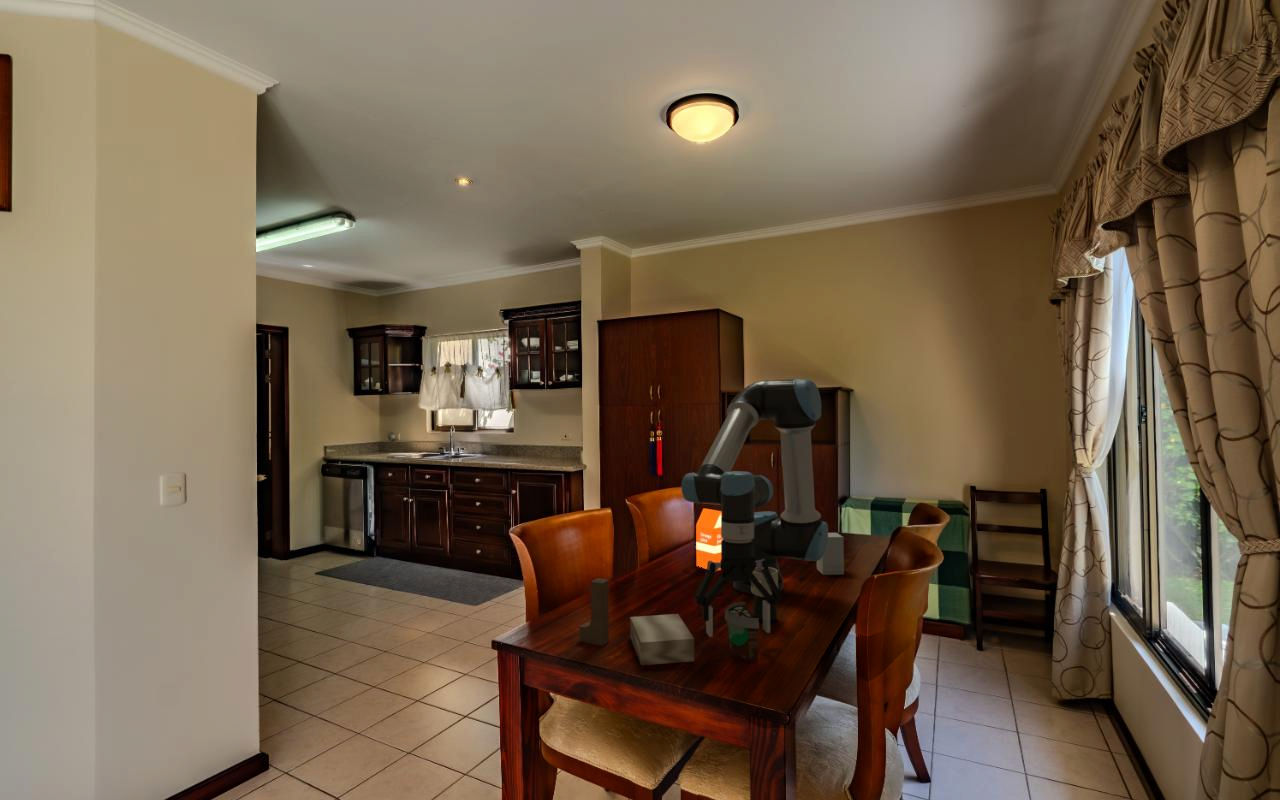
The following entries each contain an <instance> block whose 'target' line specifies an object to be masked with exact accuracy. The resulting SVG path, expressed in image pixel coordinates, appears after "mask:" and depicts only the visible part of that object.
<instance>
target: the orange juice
mask: <svg viewBox="0 0 1280 800" xmlns="http://www.w3.org/2000/svg"><path fill="white" fill-rule="evenodd" d="M695 525H696V526H695V528H696V529H695V531H696V533H695V534H696V535H695V537H696V538H695V539H696V542H695V544H696V545H695V549H696V551H695V552H696V567H698V566H699V567H698V568H701V567H702V569H705V570H707V565H708V561H712V562H718V563H720V561H721V541H722V540H723V538H722V537H721V510H716V509H710V508H702V511H701V513H700V515H699V518H698V520H697V522H696V524H695ZM718 571H722V570H721V568H719V569H718Z"/></svg>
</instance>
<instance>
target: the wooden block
mask: <svg viewBox="0 0 1280 800" xmlns="http://www.w3.org/2000/svg"><path fill="white" fill-rule="evenodd" d="M609 581H610V580H609V579H606V578H599V577H598V578H595V579H593V580H592V581H590V622H585V623H583V624H582V625H579V629H578V631H579V632H578V634H579V637H578V638H579V643H585V644H589V645H595V646H599V647H604V646H605V645H606V644H608V643H609V642H610V624H609V622H610V619H609V617H610V615H609V613H610V605H609V603H610V601H609V599H610V598H609V596H610V595H609V593H610V591H609V587H610V586H609V585H610V584H609V583H610V582H609Z"/></svg>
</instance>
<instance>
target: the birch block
mask: <svg viewBox="0 0 1280 800" xmlns="http://www.w3.org/2000/svg"><path fill="white" fill-rule="evenodd" d="M629 622H630V627H629V628H630V629H629V632H630V639H631V643H632V644H633V645H632V646H633V648H634V650H635V654H636V655H637V657H638V660H639V663H640V665H641V666H651V665H663V664H673V663H675V664H676V663H686V662H687V663H688V662H695V637H694V636H693V634H692V633H691V632H690V630H689V628H688V627H687V625H686V624H685V622H684V621H683V619H682V618H681V616H680V615H679V614H678V613H670V614H659V615H658V614H657V615H642V616H639V615H638V616H631V617H629Z"/></svg>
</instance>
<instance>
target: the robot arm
mask: <svg viewBox="0 0 1280 800" xmlns="http://www.w3.org/2000/svg"><path fill="white" fill-rule="evenodd" d="M822 407H823V406H822V399H821V394H820V391H819V388H818V386H817V384H816V383H815V382H814V381H812V380H811V379H803V378H802V379H801V378H790V379H771V380H769V379H764V380H758V381H755V382H753V383H751V384H749V385H747V386H746V387H744V388H742V389H741V391H739V392H738V393H737V394H736V395H735V396H734V397H733V398H732V400H731V402H730V403H729V405H728V407H727V409H726V418H725V420H724V421H723V424H722V425H721V428H720V429H719V431H718V432H717V435H716V437H715V439H714V441H713V442H712V445H711V446H710V448H709V451H708V453H707V454H706V456H705V458H704V460H703V461H702V463H701V465H700V467H699V469H698V471H697V472H688V473H686V474H685V475H684V476H683V478H682V481H681V494H682V497H683V498H684V500H685V501H687V502H690V503H694V504H695V503H696V504H699V505H702V504H704V505H705V504H708V505H720V508H721V509H720V511H721V537H722V538H723V540H722V541H721V561H720V563H718V562H712V561H708V565H707V569H706V571H705V573H704V575H703V578H702V580H701V581H700V584H699V587H698V588H697V590H696V593H695V595H694V597H693V601H694V602H695V604H697V605H698V606H701V618H702V619H703V621H704V622H705V629H706V630H705V633H706V634H707V636H708V637H709V638H711V637H714V636H713V635H714V630H713V629H714V627H713V625H714V624H713V623H714V622H713V618H714V617H713V616H714V615H713V614H714V613H713V610H714V608H713V606H712V605H711V604H712V603H713V602H714V600H715V599H716V598H717V596H718V595H719V594H720V592H722V590H723V588H725V586H726V585H728V584H729V582H730V581H731V582H733V588H734V589H735V590H737V591H738V592H741V593H744V594H749V595H754V594H753V593H752V592H751V582H752V583H753V584H754V586H755V587H756V588H757V589H758V590H759V591H760V593H761V594H762V595H763V596H764V597H765V599H766V600H767V601H763V621H762V630H764V632H766V633H767V634H771V620H770V617H773V615H774V604H775V605H776V604H777V602H776V601H781V600H782V599H783V597H782V594H781V592H783V591H784V580H783V577H782V574H781V571H780V568H779V565H778V558H785V559H786V558H787V559H792V560H800V561H805V562H807V561H808V562H809V561H811V562H817V561H818V560H820V559H821V558H822V557H823V555H824V552H825V549H826V545H827V540H828V533H829V526H828V523H827V522H826V521H822V515H821V513H820V512H819V511H818V510H817V509H816V506H815V505H816V503H815V486H814V485H815V484H814V470H813V469H814V468H813V467H814V466H813V451H812V433H811V431H812V430H813V428H814V427H815V426H817V425H816V423H817V422H816V421H818V420H820V419H821V416H822ZM762 420H773V422H774V428H775V429H776V430H778V431H779V433H780V446H781V447H780V449H781V461H782V462H781V464H782V478H783V493H784V494H783V495H784V510H783V512H781V514H780V517H778V514H777V512H776V511H770V510H769V511H755V509H756V508H760V507H763V506H765V505H766V504H768V502H770V501H771V499H772V497H773V495H774V487H773V484H772V482H771V481H770V479H768V478H767V477H766V476H764V475H758V474H757V475H756V474H753V473H752V472H749V471H741V470H739V471H738V470H736V471H735V470H733V471H731V470H732V469H733V466H734V464H735V462H736V460H737V458H738V456H739V454H740V452H741V450H742V448H743V445H744V443H745V441H746V439H747V437H748V435H749V433H750V432H751V431H750V430H751V429H752V428H754V427H755V426H757V424H758V423H759V421H762ZM756 567H758V568H759V569H760V570H761V572H762V574H763V576H764V578H765V580H766V582H767V584H768V586H769V588H770V590H771V592H772V594H771V595H770V594H769V593H768V591H767V590H766V589H765V588H764V587H763V586H762V584H761V583H760V582H759V581H758V580H757V578H756V577H755V576H754V575H753V573H752V572H753V571H754V569H755V568H756ZM769 567H771V568H775V569H777V570H778V588H777V586H776V584H775V582H774V580H773V578H772V576H771V574H770V571H769ZM719 568H721V570H720V571H722V572H721V573H720V574H719V575H718V578H717V580H716V581H715V583H714V584H713V585H712V586H711V583H712V582H713V580H714V578H715V574H716V572H718V571H719V570H718V569H719ZM710 586H711V588H710ZM709 588H710V589H709Z"/></svg>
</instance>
